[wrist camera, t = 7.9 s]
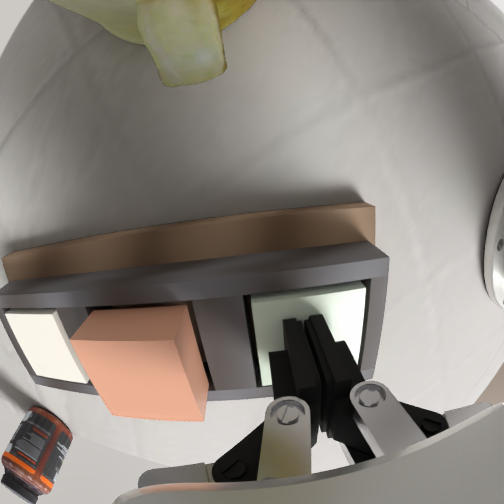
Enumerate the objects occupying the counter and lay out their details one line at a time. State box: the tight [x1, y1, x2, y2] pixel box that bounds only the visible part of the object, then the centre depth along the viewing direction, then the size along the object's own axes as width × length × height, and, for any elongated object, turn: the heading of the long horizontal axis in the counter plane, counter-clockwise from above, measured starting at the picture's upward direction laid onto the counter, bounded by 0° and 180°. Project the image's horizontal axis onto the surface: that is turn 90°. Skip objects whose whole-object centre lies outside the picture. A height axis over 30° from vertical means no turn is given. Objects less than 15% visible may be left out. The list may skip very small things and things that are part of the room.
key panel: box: [0, 202, 389, 401], centre depth 13 cm, size 22×10×4 cm, turn 96°
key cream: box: [5, 308, 90, 383], centre depth 13 cm, size 5×5×2 cm
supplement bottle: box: [1, 407, 73, 504], centre depth 14 cm, size 6×6×11 cm
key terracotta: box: [69, 305, 209, 421], centre depth 11 cm, size 5×5×2 cm
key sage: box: [251, 280, 366, 386], centre depth 12 cm, size 5×5×2 cm
